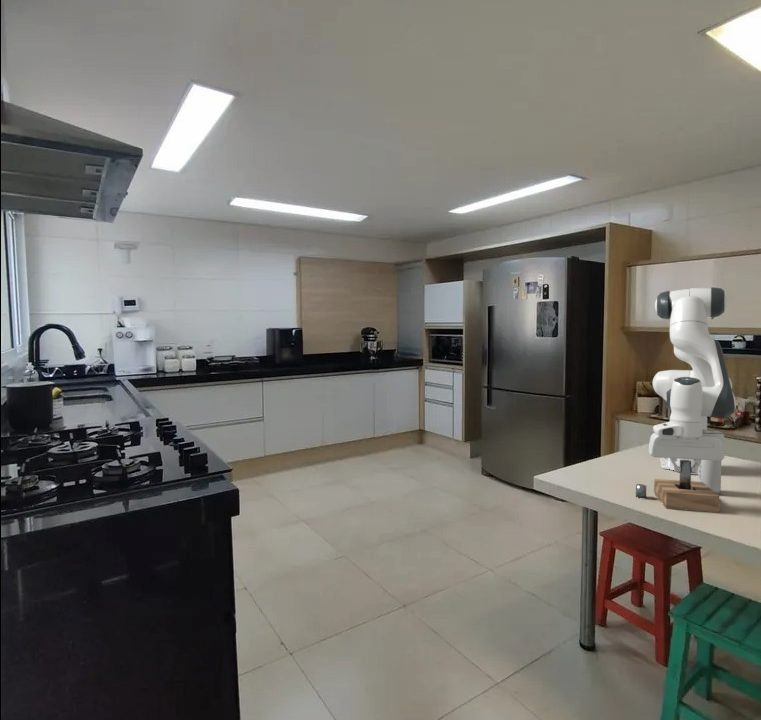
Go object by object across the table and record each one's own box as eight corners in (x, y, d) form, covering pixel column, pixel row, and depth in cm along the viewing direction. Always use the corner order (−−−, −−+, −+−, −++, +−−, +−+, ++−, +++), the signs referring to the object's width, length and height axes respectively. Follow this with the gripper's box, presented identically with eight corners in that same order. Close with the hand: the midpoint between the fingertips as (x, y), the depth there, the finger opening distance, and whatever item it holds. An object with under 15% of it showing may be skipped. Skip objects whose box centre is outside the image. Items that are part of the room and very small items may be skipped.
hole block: (654, 493, 158) (654, 478, 158) (702, 496, 154) (702, 481, 154) (666, 508, 145) (666, 492, 145) (719, 512, 141) (719, 496, 141)
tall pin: (678, 486, 151) (678, 459, 151) (688, 487, 150) (689, 459, 150) (681, 489, 148) (681, 461, 148) (692, 490, 147) (692, 462, 147)
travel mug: (721, 491, 159) (722, 432, 158) (719, 496, 154) (721, 436, 153) (699, 487, 163) (700, 430, 162) (696, 492, 158) (698, 433, 157)
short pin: (634, 495, 157) (635, 483, 157) (645, 496, 156) (645, 484, 156) (637, 498, 154) (637, 486, 154) (647, 499, 153) (647, 487, 153)
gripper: (720, 428, 148) (719, 471, 149) (647, 425, 154) (647, 467, 155) (728, 432, 142) (727, 477, 143) (652, 429, 148) (652, 472, 149)
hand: (685, 472), depth 149 cm, fingers closed on tall pin, 3 cm apart
